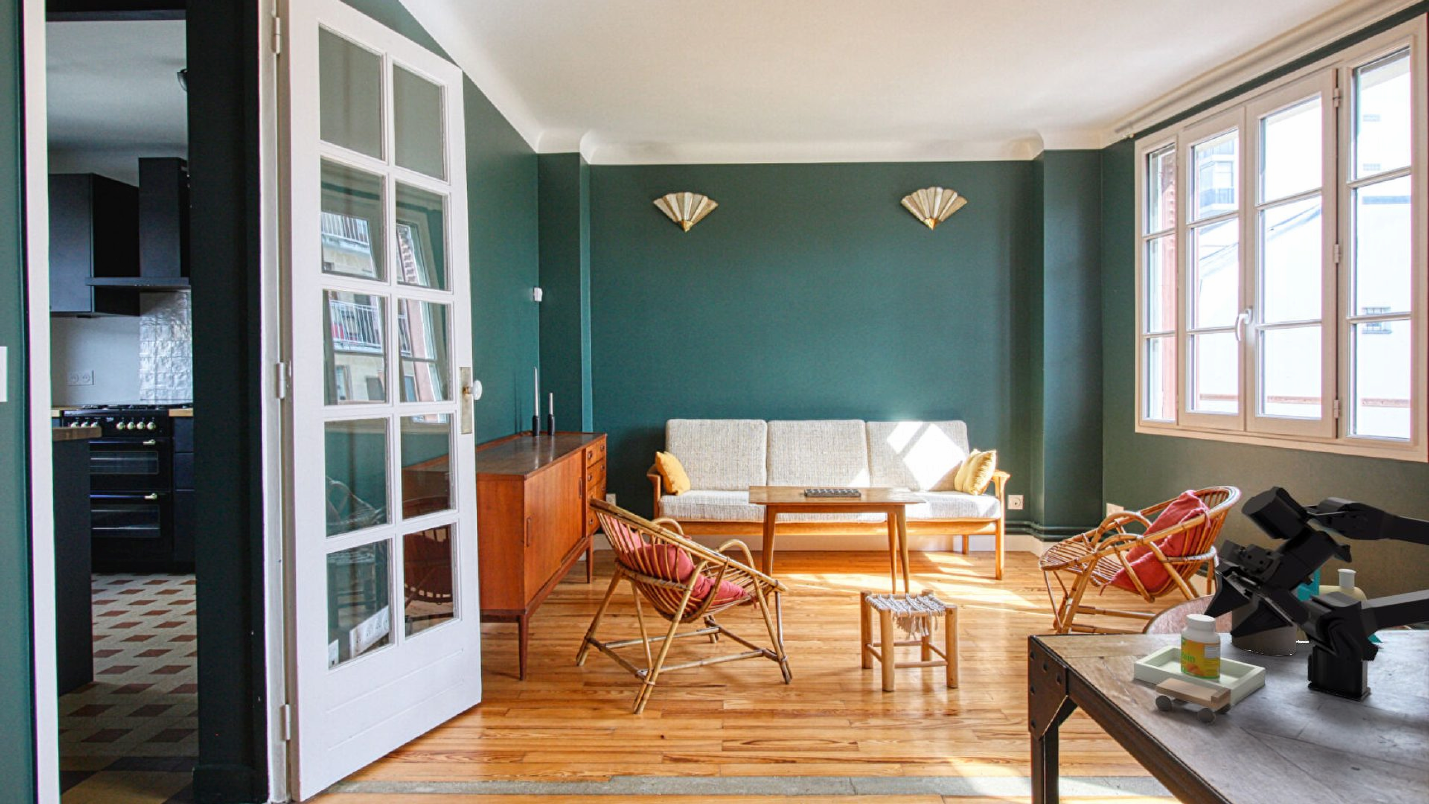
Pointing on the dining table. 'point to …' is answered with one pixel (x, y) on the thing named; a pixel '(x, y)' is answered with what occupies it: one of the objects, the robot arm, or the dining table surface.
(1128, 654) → the dining table surface
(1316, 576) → the toy train
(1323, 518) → the robot arm
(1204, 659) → the supplement bottle
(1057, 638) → the dining table surface
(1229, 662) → the tray
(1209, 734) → the dining table surface
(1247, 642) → the pillar candle
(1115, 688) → the dining table surface
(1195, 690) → the cart
